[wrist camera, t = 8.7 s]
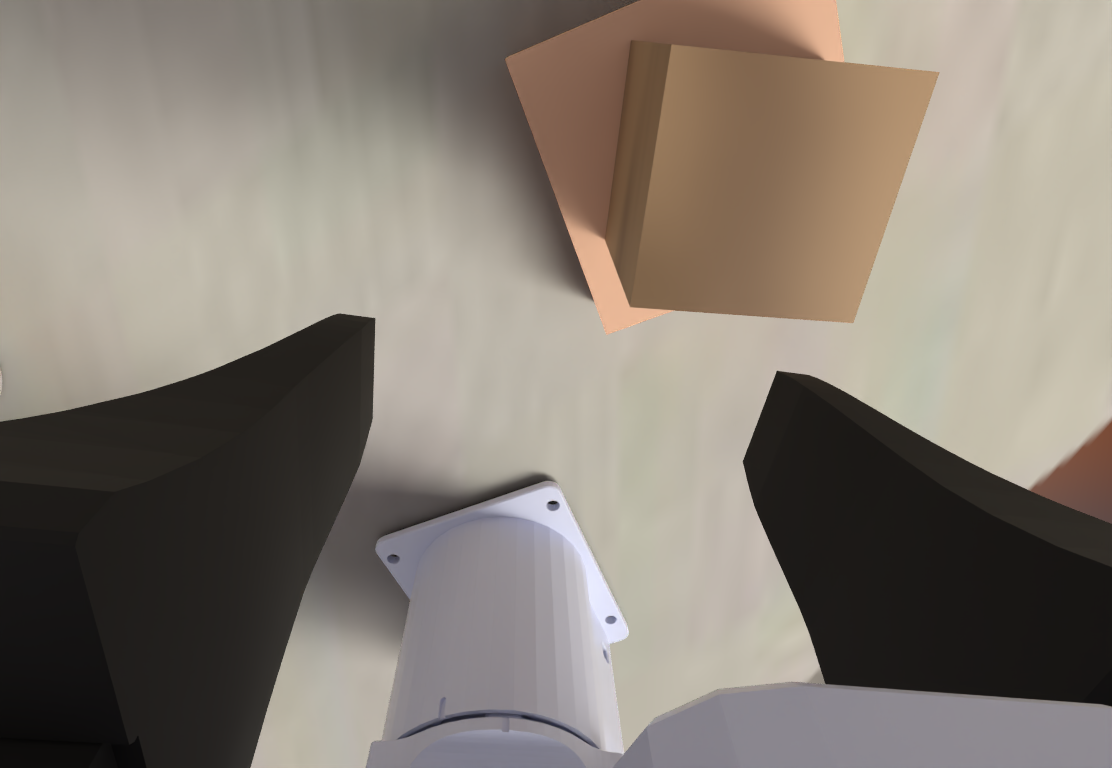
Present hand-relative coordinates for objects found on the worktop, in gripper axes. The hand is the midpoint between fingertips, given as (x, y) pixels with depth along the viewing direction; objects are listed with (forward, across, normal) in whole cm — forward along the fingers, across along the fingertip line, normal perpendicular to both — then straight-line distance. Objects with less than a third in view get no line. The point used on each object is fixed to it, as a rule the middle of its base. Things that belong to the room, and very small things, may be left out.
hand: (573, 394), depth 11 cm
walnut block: (+8, -4, -3) cm, 9 cm away
